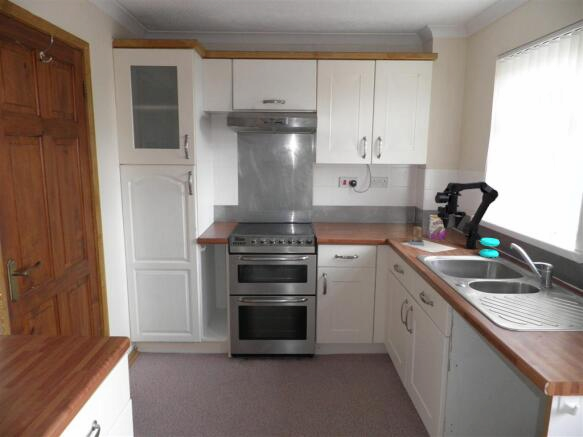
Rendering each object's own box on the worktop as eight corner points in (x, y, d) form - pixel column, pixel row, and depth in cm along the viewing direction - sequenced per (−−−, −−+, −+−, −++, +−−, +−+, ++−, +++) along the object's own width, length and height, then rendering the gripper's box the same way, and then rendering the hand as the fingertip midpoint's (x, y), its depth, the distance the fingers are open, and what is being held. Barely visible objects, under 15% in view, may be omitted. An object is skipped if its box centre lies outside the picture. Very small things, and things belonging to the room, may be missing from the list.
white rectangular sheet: (423, 241, 267) (424, 240, 267) (457, 250, 243) (457, 248, 243) (400, 244, 257) (400, 243, 257) (432, 254, 234) (432, 252, 234)
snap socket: (422, 243, 258) (422, 240, 258) (423, 245, 251) (424, 242, 250) (409, 242, 260) (409, 239, 259) (411, 245, 252) (411, 242, 252)
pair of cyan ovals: (490, 241, 222) (476, 238, 231) (489, 259, 223) (475, 254, 233) (503, 240, 225) (489, 237, 235) (502, 257, 227) (488, 253, 236)
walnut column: (419, 243, 257) (420, 226, 255) (420, 244, 253) (421, 228, 251) (412, 243, 258) (413, 226, 256) (413, 244, 254) (414, 227, 252)
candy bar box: (428, 239, 276) (429, 215, 273) (427, 237, 280) (429, 214, 278) (445, 240, 273) (447, 216, 270) (444, 238, 277) (446, 215, 275)
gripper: (452, 201, 254) (450, 225, 256) (431, 202, 245) (429, 227, 248) (467, 202, 244) (465, 227, 247) (445, 204, 236) (443, 230, 238)
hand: (450, 228), depth 245 cm, fingers open, 9 cm apart
